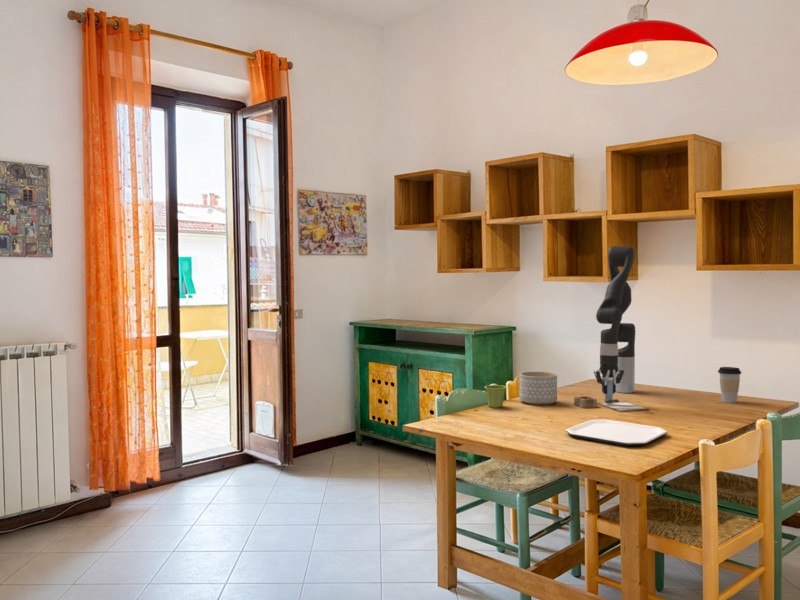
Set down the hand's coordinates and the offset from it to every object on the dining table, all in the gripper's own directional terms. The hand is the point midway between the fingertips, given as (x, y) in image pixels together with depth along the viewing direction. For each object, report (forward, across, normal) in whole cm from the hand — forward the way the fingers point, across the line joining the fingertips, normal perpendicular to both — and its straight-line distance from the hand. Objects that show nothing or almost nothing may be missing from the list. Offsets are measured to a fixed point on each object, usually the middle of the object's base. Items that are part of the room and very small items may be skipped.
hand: (608, 393), depth 284 cm
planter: (+6, +26, -15) cm, 31 cm away
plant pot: (+6, +48, -11) cm, 50 cm away
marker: (+4, 0, 0) cm, 4 cm away
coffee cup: (+6, -56, +6) cm, 57 cm away
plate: (+6, +26, +48) cm, 55 cm away
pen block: (+5, +10, -2) cm, 12 cm away
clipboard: (+5, -4, +4) cm, 8 cm away
